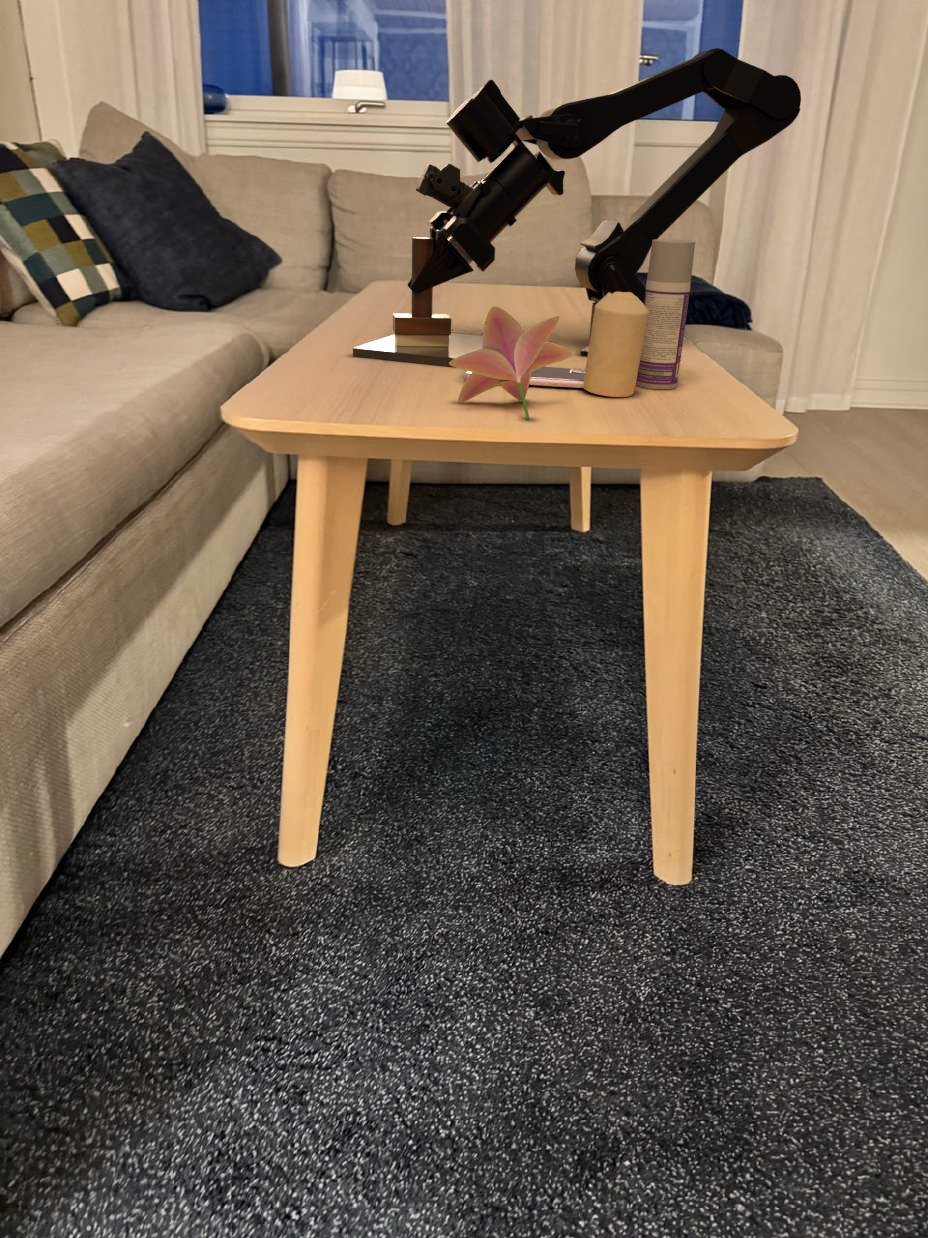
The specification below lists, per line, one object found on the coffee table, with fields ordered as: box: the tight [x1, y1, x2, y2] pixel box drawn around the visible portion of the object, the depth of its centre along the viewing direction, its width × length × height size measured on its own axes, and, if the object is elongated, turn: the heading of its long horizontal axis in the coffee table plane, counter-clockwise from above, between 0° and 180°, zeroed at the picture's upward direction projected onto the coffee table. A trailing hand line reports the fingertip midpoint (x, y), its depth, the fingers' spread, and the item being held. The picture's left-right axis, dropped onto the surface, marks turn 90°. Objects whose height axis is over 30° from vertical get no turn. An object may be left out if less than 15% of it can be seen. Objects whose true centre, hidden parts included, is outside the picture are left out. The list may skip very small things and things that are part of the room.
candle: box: [583, 292, 649, 398], centre depth 95 cm, size 6×6×10 cm
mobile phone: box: [463, 366, 586, 389], centre depth 102 cm, size 8×1×15 cm
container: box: [635, 238, 696, 390], centre depth 99 cm, size 5×5×15 cm
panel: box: [352, 332, 483, 368], centre depth 117 cm, size 18×15×1 cm
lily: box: [449, 305, 574, 420], centre depth 86 cm, size 12×12×10 cm
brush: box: [392, 236, 452, 347], centre depth 112 cm, size 4×7×12 cm, turn 99°
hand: (411, 289), depth 112 cm, fingers closed on brush, 3 cm apart
